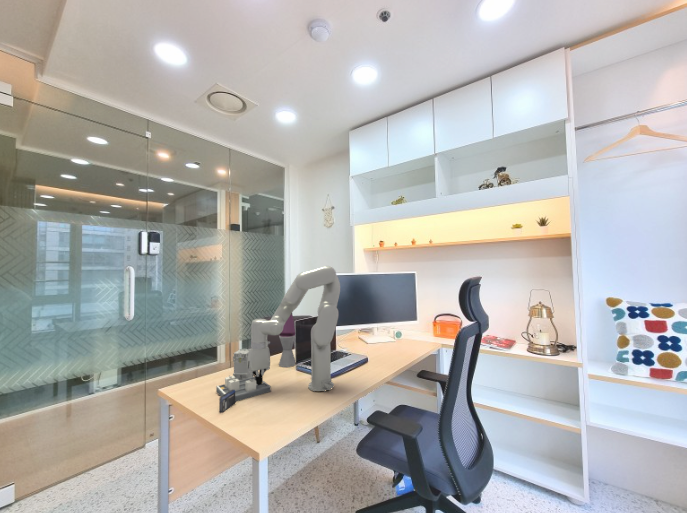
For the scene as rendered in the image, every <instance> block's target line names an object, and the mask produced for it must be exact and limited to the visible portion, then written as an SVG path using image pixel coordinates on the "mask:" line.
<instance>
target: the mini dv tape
mask: <svg viewBox="0 0 687 513" xmlns="http://www.w3.org/2000/svg"><path fill="white" fill-rule="evenodd" d="M218 400H219V401H218V402H219V407H218V408H219V409H218V410H219V413H224V412H226V411H227V410H229V408H231V407H232V406H234V405H235V404H236V402H235V390H231V391H229V392H227V393H226V394H224V395H223V396H219V399H218Z"/></svg>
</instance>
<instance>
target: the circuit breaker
mask: <svg viewBox="0 0 687 513" xmlns="http://www.w3.org/2000/svg"><path fill="white" fill-rule="evenodd" d="M249 349H250V348H249ZM249 349H246V348H245V349H242V348H241V349H238V350H236V351H235V352H233V356H232V362H233V372H232V376H234V377H235V379H238V380H243V379H247V378H251V377H254V374H249V373H248V368H247V361H248V353H249Z"/></svg>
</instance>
